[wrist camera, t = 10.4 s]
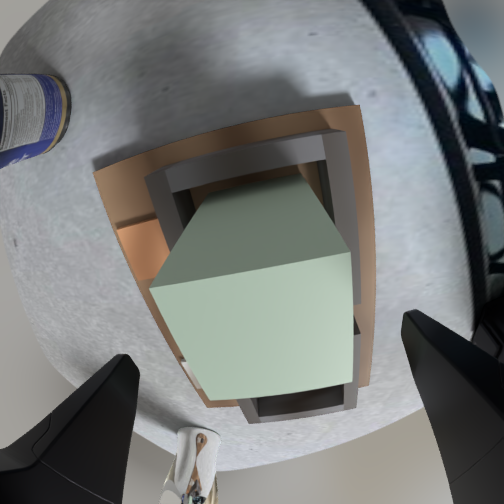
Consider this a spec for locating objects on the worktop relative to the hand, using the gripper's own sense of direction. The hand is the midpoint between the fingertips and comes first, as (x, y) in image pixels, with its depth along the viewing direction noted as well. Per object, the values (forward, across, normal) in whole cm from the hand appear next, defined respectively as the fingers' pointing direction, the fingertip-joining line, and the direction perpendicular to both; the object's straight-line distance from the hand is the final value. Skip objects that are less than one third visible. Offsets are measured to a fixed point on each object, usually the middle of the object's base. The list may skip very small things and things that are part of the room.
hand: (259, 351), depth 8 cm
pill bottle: (+11, +13, -12) cm, 21 cm away
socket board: (+11, +1, +6) cm, 13 cm away
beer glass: (+11, +14, +28) cm, 33 cm away
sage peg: (+10, 0, 0) cm, 10 cm away
